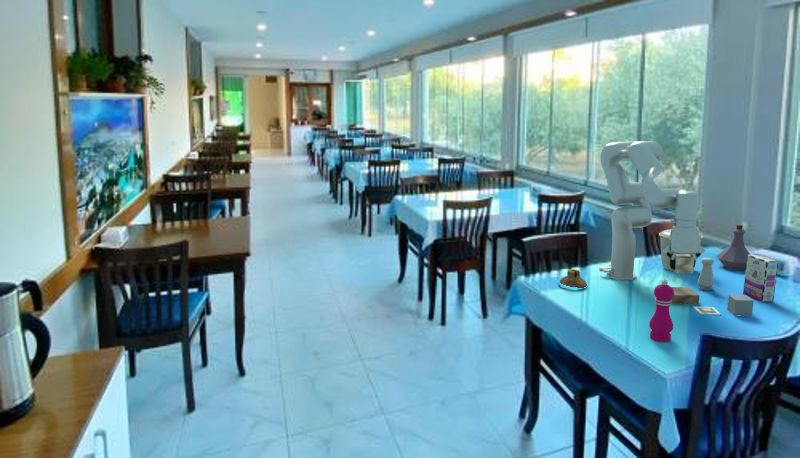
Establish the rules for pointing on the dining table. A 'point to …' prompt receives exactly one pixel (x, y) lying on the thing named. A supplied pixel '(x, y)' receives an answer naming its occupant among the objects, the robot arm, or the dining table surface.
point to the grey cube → (740, 305)
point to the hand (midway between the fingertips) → (682, 268)
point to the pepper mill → (662, 313)
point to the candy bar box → (760, 278)
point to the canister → (664, 241)
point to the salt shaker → (706, 274)
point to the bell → (573, 279)
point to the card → (707, 310)
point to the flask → (735, 252)
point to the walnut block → (684, 296)
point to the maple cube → (684, 263)
